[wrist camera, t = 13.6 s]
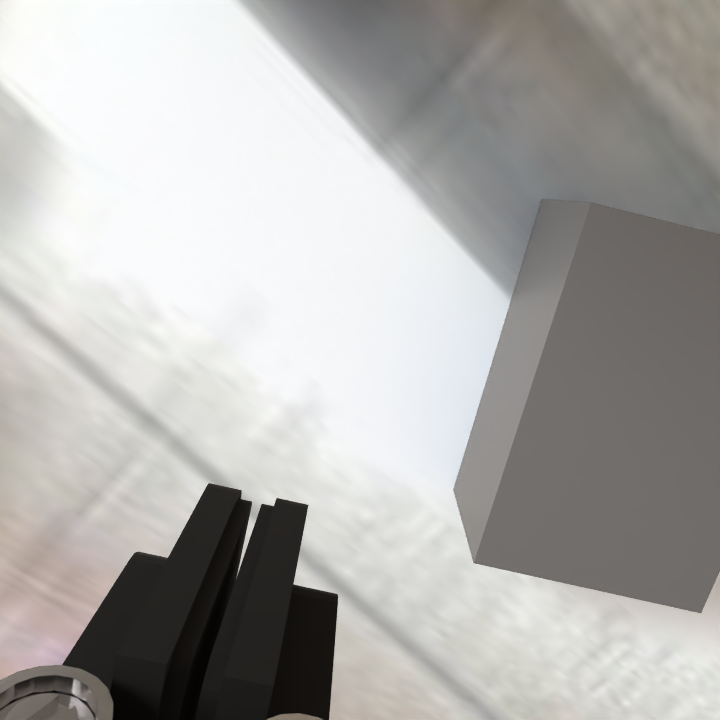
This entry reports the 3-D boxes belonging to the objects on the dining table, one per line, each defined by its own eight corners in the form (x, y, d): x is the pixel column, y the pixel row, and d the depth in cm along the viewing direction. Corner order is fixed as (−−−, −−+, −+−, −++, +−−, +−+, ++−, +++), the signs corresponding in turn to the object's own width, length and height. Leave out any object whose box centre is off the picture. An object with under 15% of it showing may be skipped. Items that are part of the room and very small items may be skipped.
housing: (541, 199, 35) (591, 202, 27) (748, 250, 36) (853, 268, 28) (453, 489, 40) (473, 562, 32) (637, 531, 40) (701, 613, 32)
